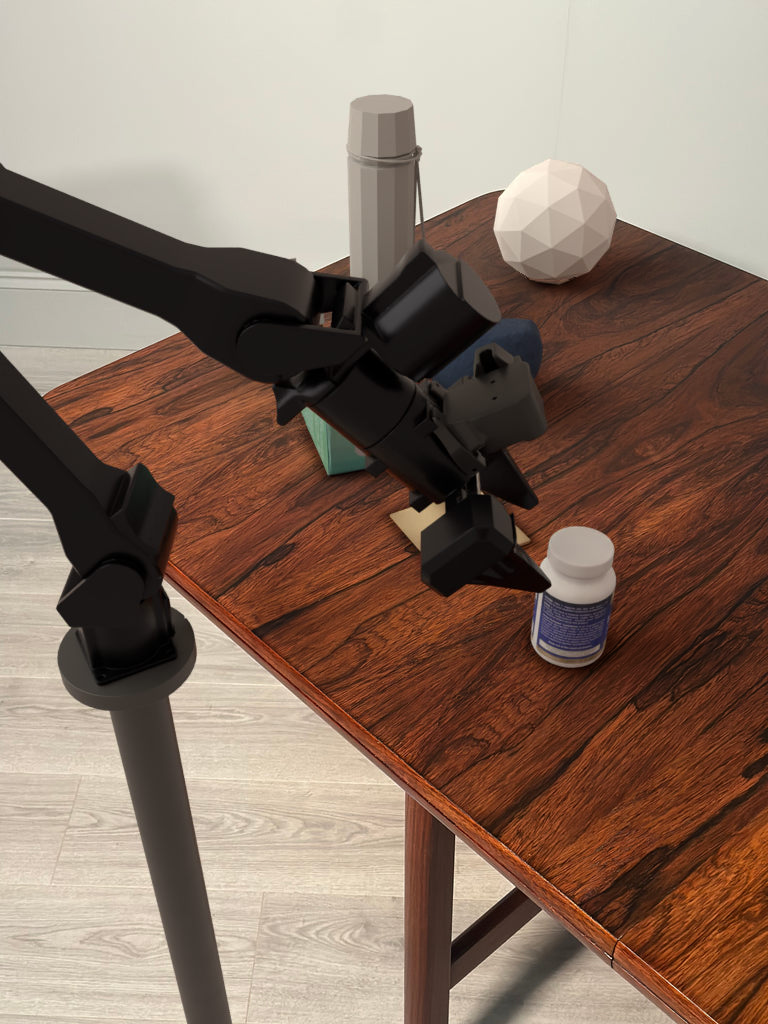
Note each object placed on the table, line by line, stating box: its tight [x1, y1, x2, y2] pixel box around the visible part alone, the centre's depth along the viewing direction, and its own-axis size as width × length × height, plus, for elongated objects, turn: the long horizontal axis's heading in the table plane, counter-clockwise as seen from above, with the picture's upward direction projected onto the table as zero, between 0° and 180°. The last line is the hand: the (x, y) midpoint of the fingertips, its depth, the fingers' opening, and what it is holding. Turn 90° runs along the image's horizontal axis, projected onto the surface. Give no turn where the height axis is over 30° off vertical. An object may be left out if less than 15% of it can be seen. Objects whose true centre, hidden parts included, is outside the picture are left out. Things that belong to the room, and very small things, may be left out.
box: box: [300, 407, 366, 476], centre depth 101 cm, size 7×14×8 cm, turn 16°
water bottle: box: [345, 93, 427, 290], centre depth 115 cm, size 9×8×25 cm
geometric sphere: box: [493, 158, 618, 285], centre depth 128 cm, size 14×15×15 cm
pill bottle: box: [530, 525, 617, 669], centre depth 78 cm, size 6×6×10 cm
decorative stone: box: [431, 317, 544, 390], centre depth 105 cm, size 12×12×10 cm
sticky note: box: [389, 491, 532, 551], centre depth 92 cm, size 9×9×1 cm
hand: (540, 545), depth 75 cm, fingers open, 9 cm apart
